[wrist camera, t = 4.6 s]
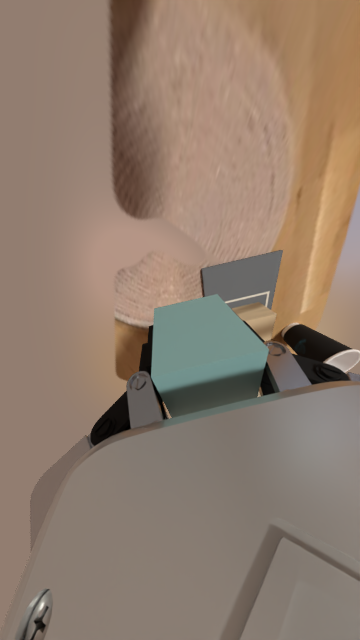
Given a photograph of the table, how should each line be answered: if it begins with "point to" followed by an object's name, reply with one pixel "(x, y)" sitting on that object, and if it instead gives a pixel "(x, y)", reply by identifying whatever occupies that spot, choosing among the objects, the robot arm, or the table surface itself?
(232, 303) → the mat
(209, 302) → the teal block
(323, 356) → the dixie cup
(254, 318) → the oak block
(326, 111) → the table surface
